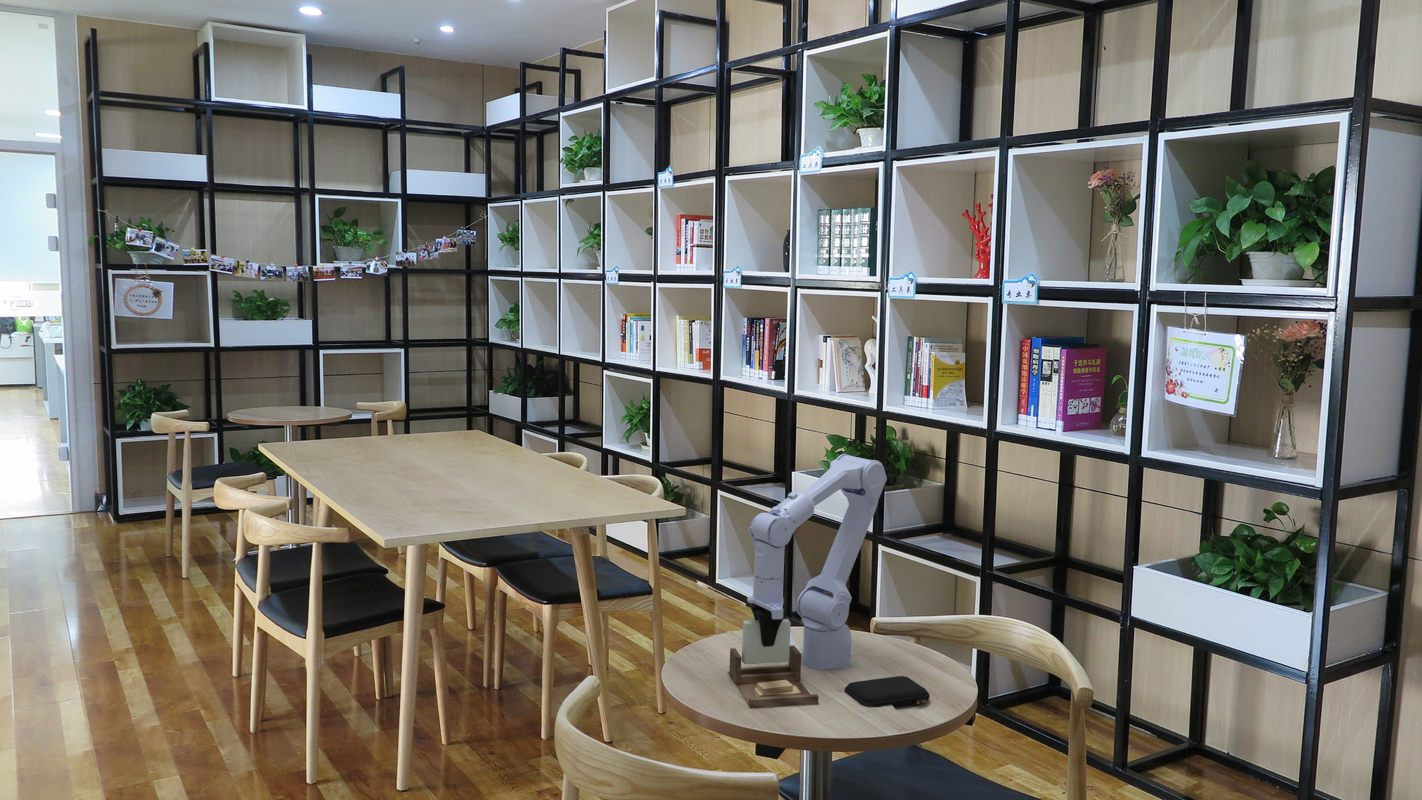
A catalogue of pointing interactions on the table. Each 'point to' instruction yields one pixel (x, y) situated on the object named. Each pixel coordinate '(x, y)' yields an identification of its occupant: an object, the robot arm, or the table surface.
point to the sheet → (754, 648)
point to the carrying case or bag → (887, 692)
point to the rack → (753, 675)
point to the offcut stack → (776, 689)
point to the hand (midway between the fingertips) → (766, 643)
